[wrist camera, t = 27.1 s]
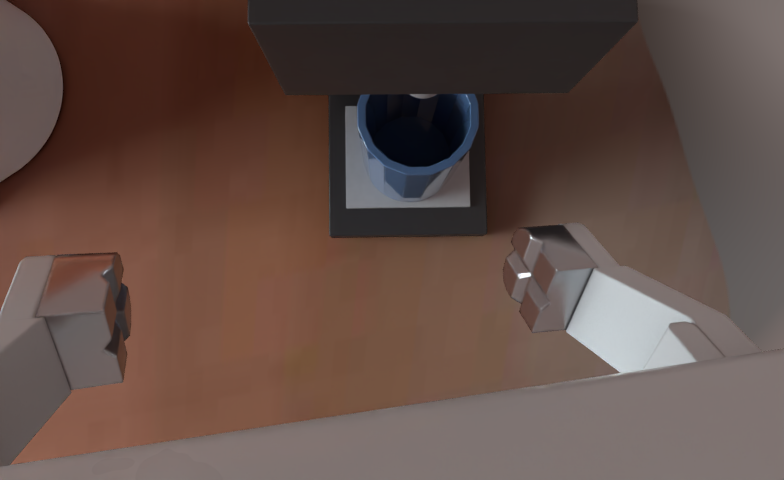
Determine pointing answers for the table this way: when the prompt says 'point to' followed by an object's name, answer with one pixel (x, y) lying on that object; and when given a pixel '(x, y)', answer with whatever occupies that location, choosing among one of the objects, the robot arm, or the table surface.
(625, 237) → the table surface
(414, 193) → the cup
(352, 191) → the coffee maker
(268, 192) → the table surface
